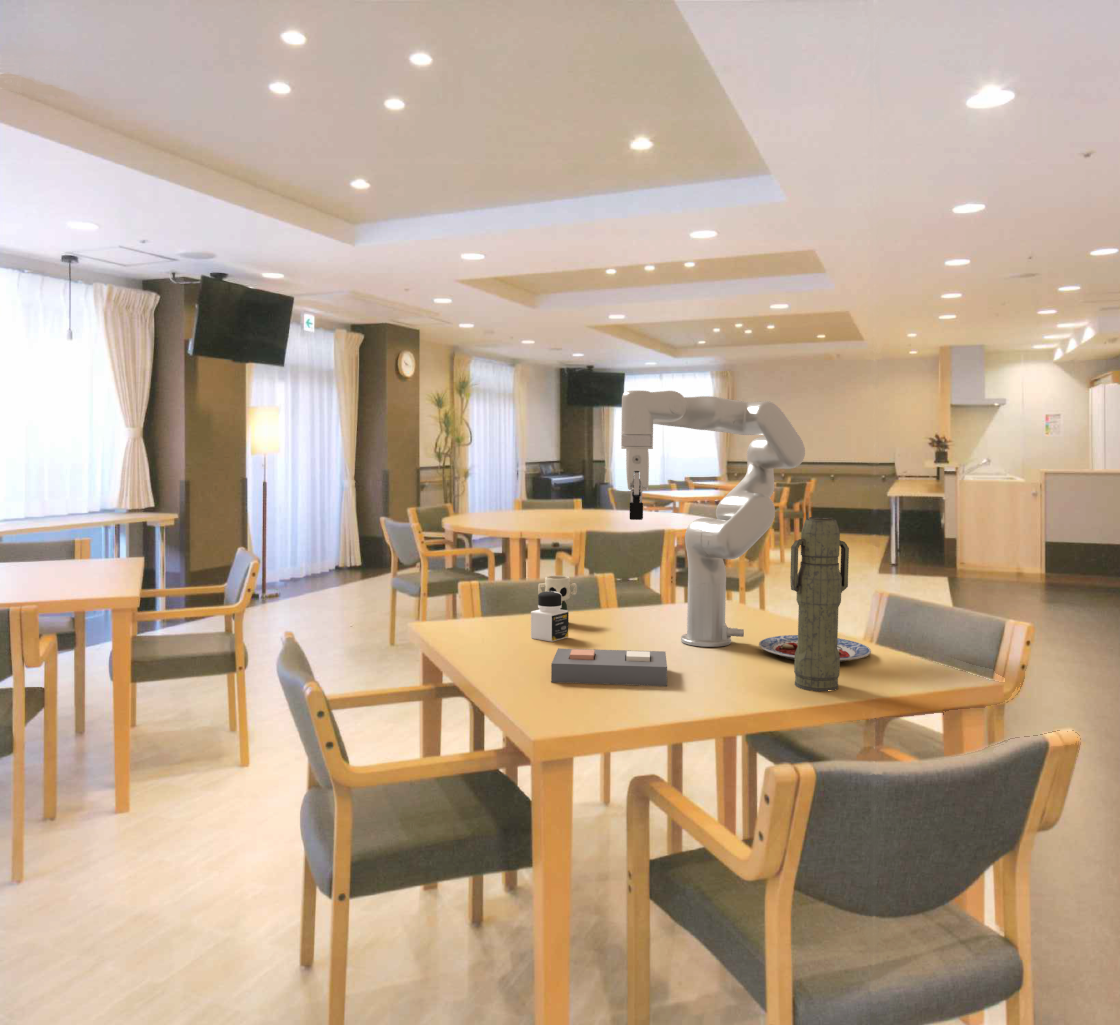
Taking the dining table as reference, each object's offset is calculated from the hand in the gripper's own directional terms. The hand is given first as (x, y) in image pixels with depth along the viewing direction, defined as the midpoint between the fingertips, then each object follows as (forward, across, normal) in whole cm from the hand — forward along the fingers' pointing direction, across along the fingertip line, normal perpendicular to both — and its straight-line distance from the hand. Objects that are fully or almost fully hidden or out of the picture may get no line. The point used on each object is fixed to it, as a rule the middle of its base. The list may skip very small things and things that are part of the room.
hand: (636, 519), depth 207 cm
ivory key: (+30, -24, -1) cm, 39 cm away
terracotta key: (+30, -24, +11) cm, 40 cm away
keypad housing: (+32, -24, +5) cm, 40 cm away
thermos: (+32, -27, -38) cm, 57 cm away
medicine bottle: (+32, +12, +22) cm, 41 cm away
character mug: (+32, +32, +22) cm, 51 cm away
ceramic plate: (+33, +2, -43) cm, 54 cm away
